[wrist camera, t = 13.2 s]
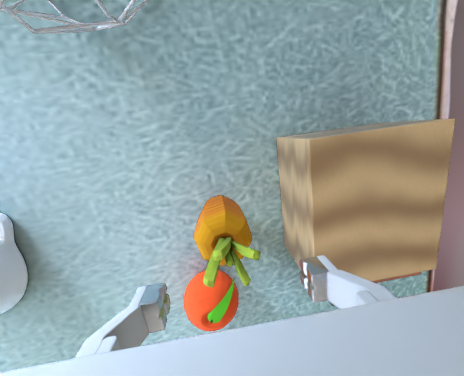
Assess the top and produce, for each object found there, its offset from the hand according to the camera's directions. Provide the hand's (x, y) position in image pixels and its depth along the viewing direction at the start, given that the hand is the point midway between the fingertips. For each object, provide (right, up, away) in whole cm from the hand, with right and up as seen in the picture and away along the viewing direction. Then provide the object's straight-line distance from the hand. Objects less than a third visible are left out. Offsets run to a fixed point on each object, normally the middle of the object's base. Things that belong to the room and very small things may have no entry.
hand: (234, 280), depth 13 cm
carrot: (-2, +4, +15) cm, 16 cm away
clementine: (-3, -7, +18) cm, 19 cm away
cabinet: (+13, +6, +16) cm, 21 cm away
